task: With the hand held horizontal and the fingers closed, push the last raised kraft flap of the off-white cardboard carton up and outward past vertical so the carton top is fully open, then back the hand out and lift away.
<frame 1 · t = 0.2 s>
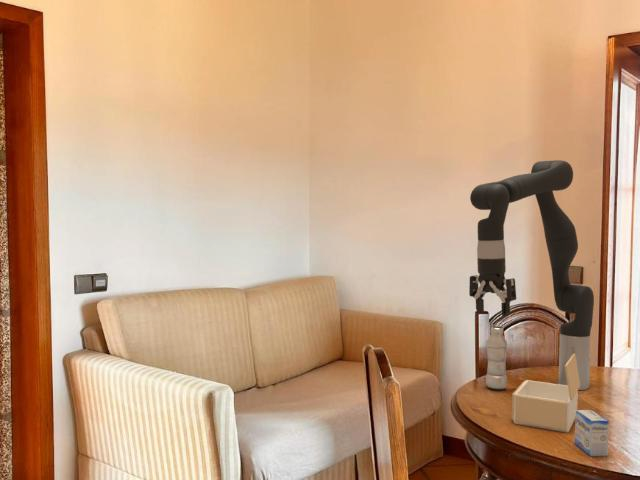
hand: (492, 314, 176), 29 cm above the table, tool pointing down, fingers open, 8 cm apart
medicine box: (590, 450, 153), on the table
plastic bottle: (496, 389, 203), on the table
flap: (572, 376, 171), point 13 cm above the table, hinge at 80.0°
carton: (545, 418, 175), on the table
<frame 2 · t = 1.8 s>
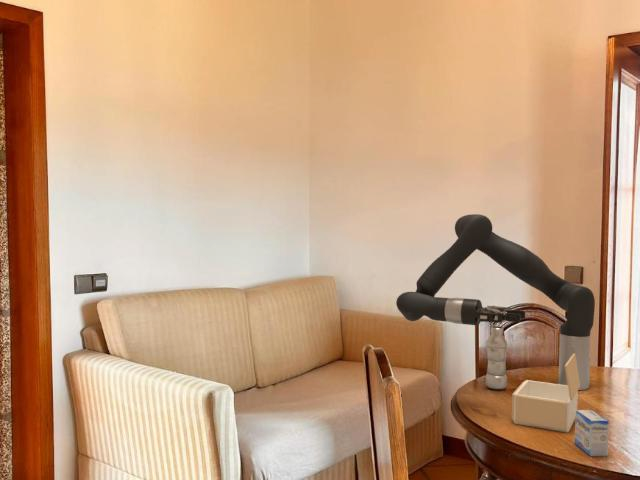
hand: (522, 316, 177), 28 cm above the table, tool horizontal, fingers open, 5 cm apart
nothing on the table moved.
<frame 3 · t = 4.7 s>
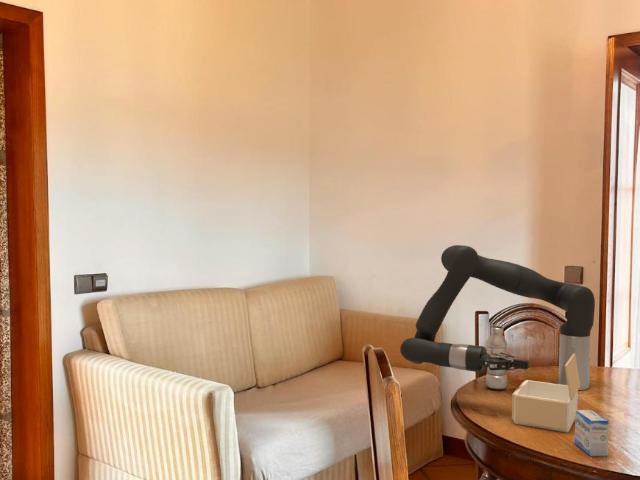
hand: (528, 365, 177), 14 cm above the table, tool horizontal, fingers closed
nothing on the table moved.
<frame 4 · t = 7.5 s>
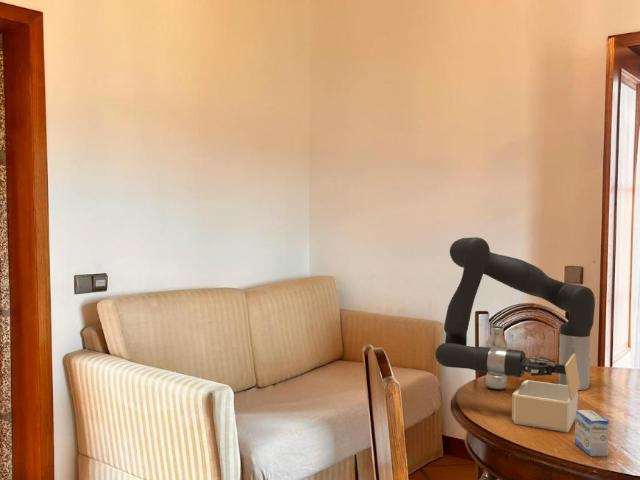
hand: (570, 370, 171), 15 cm above the table, tool horizontal, fingers closed
flap: (572, 376, 171), point 13 cm above the table, hinge at 80.0°, touching gripper
everything else where it was.
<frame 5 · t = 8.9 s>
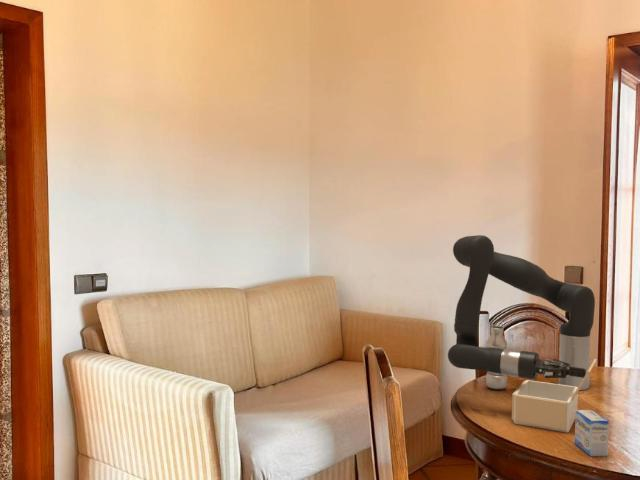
hand: (585, 373, 169), 14 cm above the table, tool horizontal, fingers closed
flap: (584, 378, 169), point 13 cm above the table, hinge at 115.5°, touching gripper
everything else where it was.
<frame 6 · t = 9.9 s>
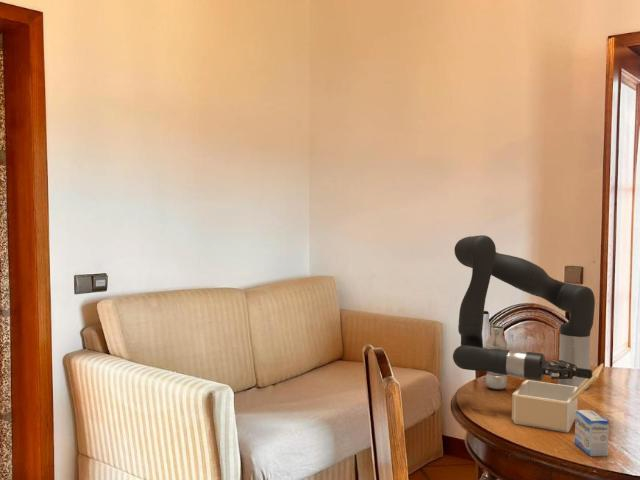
hand: (592, 374, 168), 14 cm above the table, tool horizontal, fingers closed
flap: (588, 381, 169), point 12 cm above the table, hinge at 128.9°, touching gripper
everything else where it was.
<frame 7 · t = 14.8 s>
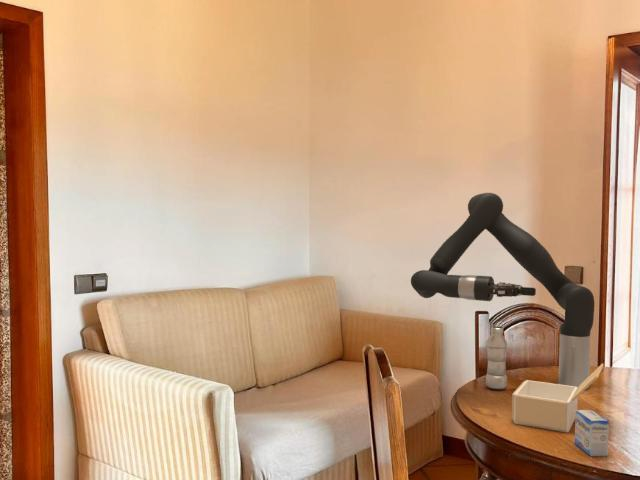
hand: (535, 291, 183), 34 cm above the table, tool horizontal, fingers closed
flap: (588, 381, 169), point 12 cm above the table, hinge at 129.2°
everything else where it was.
at the end: flap at +129° (first picture: +80°); the gripper is holding nothing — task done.
